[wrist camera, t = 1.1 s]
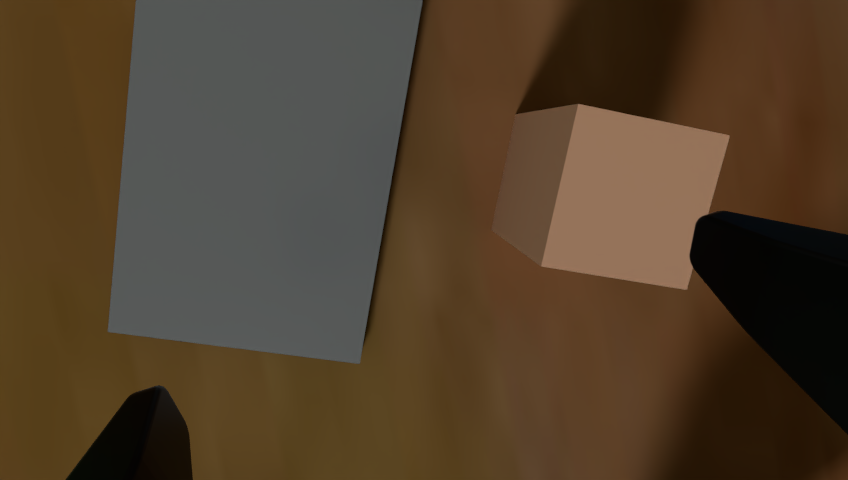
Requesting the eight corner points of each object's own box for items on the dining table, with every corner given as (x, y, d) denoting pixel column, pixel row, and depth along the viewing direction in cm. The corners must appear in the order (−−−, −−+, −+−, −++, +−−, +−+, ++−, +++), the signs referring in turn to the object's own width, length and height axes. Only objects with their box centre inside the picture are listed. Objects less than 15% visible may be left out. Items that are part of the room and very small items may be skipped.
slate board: (434, -77, 18) (438, -90, 17) (359, 353, 21) (359, 364, 20) (162, -145, 17) (149, -163, 16) (121, 322, 19) (107, 331, 19)
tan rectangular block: (625, 136, 20) (729, 135, 14) (597, 248, 21) (686, 289, 15) (515, 114, 20) (578, 103, 14) (491, 229, 20) (540, 266, 15)
